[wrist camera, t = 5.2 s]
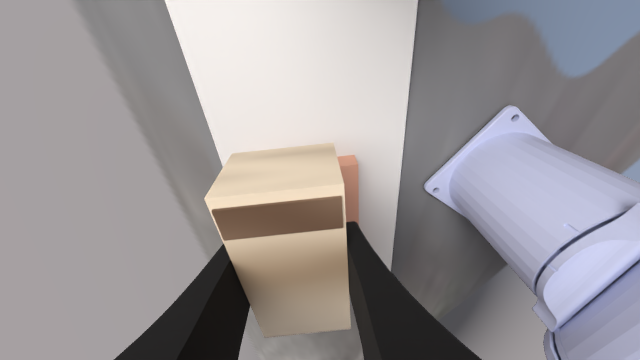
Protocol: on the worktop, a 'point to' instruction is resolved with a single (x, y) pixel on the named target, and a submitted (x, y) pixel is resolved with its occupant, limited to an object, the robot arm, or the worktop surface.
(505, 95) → the worktop surface
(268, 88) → the white mat
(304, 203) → the maple block
